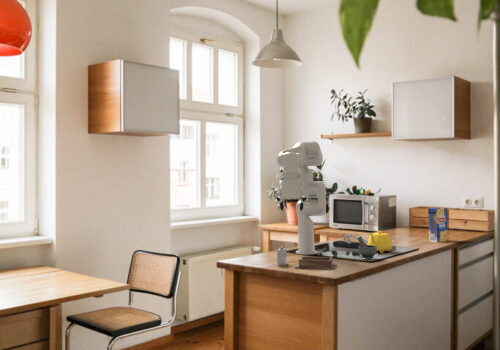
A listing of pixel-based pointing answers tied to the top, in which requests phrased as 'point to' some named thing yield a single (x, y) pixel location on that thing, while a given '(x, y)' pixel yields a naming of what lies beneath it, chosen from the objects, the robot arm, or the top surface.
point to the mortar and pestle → (366, 249)
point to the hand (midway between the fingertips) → (291, 210)
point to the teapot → (380, 241)
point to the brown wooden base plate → (315, 263)
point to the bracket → (351, 237)
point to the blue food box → (437, 224)
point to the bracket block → (282, 256)
